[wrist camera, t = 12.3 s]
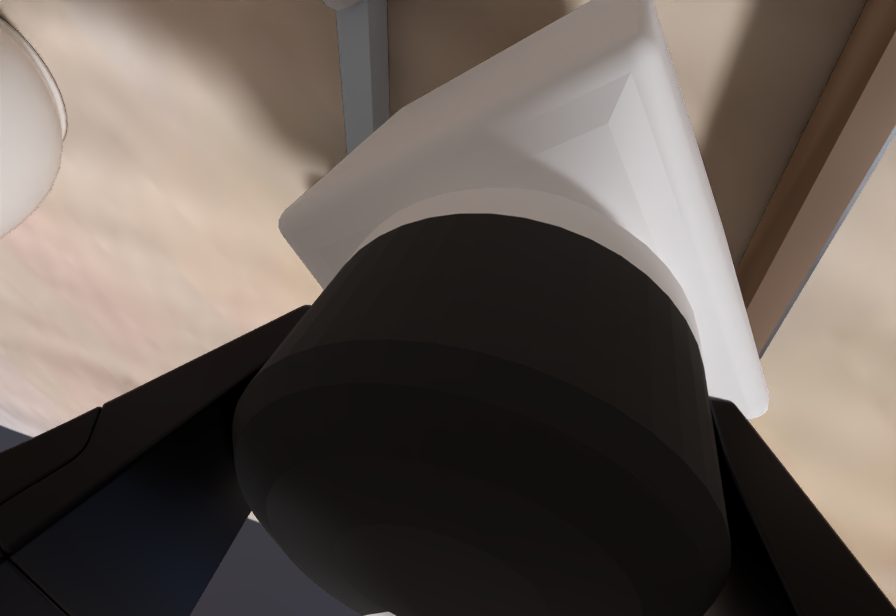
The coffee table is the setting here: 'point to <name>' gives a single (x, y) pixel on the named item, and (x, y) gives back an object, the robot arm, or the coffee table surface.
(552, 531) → the medicine bottle
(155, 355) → the coffee table surface
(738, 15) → the coffee table surface
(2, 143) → the lidded jar
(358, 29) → the grey angle bracket
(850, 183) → the wooden plank
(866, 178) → the rail
